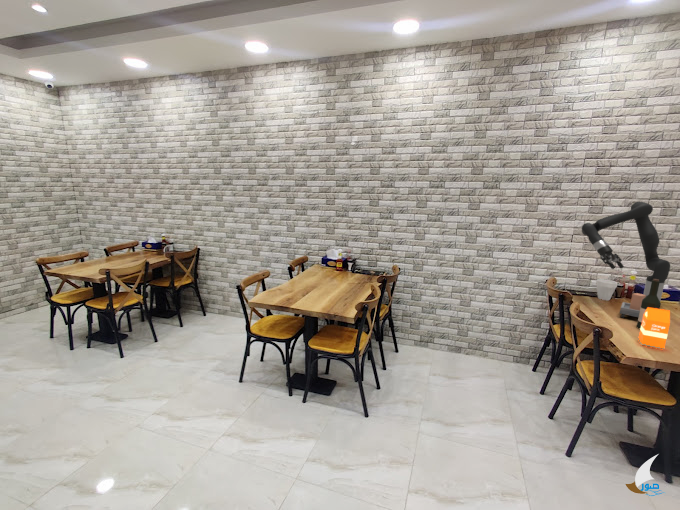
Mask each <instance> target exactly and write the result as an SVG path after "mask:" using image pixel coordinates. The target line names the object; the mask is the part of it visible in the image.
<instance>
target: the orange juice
mask: <svg viewBox="0 0 680 510" xmlns="http://www.w3.org/2000/svg"><path fill="white" fill-rule="evenodd" d="M670 325H671V310H670V309H669V310H668V309H661V308H660V309H657V308H650V307H647V309H646V311H645V313H644V315H643V319H642V324H641V328H640V329H639V335H638V338H639V340H640V342H641V343H642V344H646V345H650V346H655V347H660V348H664V349H665V347H666V342H667V338H668V334H669V329H670ZM639 340H638V341H639ZM640 342H639V343H640Z"/></svg>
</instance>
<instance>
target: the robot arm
mask: <svg viewBox="0 0 680 510" xmlns="http://www.w3.org/2000/svg"><path fill="white" fill-rule="evenodd" d="M653 208H654V207H653V206H652V205H651V204H649V203H647V202H644V201H636V202H633V204H632V205H631V207H630V209H629V210H627V211H624V212H620V213H617V214H612V215H608V216H606V217H603V218H600V219H598V220H596V222H594V223H590V222H585V223H584V224H582V226H581V233H582V234H583V235H584V236H587V238H588V241H589V242H590V243H591V245H592V246H593V248H594V249H595V251H596V252H597V254H598V255H599V256H600V259H601V260H602V262H603V264H605V265H608V266H609V268H610V269H612V270H614V269H616V266H615V265H614V263H615V264H616V265H617V266H618V267H619V268H620V269H622V268H624V267H625V266H624V264H623V263H622V262H623V260H622V258H621V256H619V255H618V254H617V253H613V249H612V247H611V246H610V245H609V244H608V243H607V241H605V239H604V237H602V236H601V234H600V233H599V232H600V231H601V230H604V229H607V228H610V227H612V226H615V225H618V224H622V223H624V222H627V221H630V220H634V222H635V224H636V229H637V232H638V237H639V240H640V243H641V245H642V249H643V253H644V259H645V265H646V267H647V269H648V270H650V271H652V272H653V273H652V274H651V275H648V276H647V277H646V279H645V285H644V290H643V294H642V295H646V296H647V295H649V292H650V288H651V283H652V280H653V279H658V280H659V281H660V283H659V288H658V292H657V297H658V299H659V301H660V302H661V299H662V296H663V291H664V286H665V282H666V280H667V279H668V276H669V273H670V271H671V263H670V261H668V260H667V259H663V258H662V259H661V258H660V257H659V254H658V251H657V250H658V247H659V244H660V237H659V234H658V231H657V229H656V227H655V225H653V223H652V221H651V220H650V214H652V212H653V210H654V209H653Z"/></svg>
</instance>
